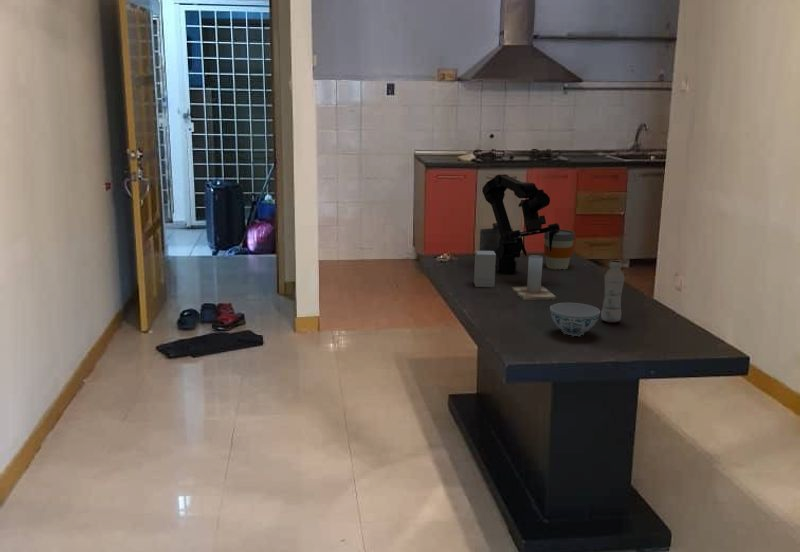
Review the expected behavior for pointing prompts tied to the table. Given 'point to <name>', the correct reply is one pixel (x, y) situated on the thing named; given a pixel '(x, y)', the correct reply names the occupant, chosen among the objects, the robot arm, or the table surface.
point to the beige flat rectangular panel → (533, 294)
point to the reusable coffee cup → (559, 249)
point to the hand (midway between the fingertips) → (538, 254)
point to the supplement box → (484, 268)
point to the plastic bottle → (613, 292)
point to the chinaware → (574, 317)
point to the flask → (490, 240)
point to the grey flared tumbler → (534, 274)
